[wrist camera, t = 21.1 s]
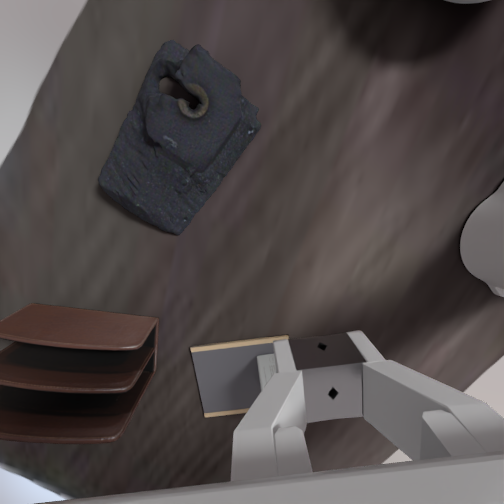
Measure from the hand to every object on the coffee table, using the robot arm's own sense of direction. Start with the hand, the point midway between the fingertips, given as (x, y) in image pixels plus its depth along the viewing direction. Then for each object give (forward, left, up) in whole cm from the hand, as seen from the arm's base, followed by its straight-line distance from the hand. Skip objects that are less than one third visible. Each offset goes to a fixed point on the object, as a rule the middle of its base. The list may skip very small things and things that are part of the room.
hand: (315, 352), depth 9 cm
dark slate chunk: (+10, -12, -30) cm, 34 cm away
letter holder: (+29, +14, -30) cm, 44 cm away
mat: (+6, +25, -29) cm, 39 cm away
